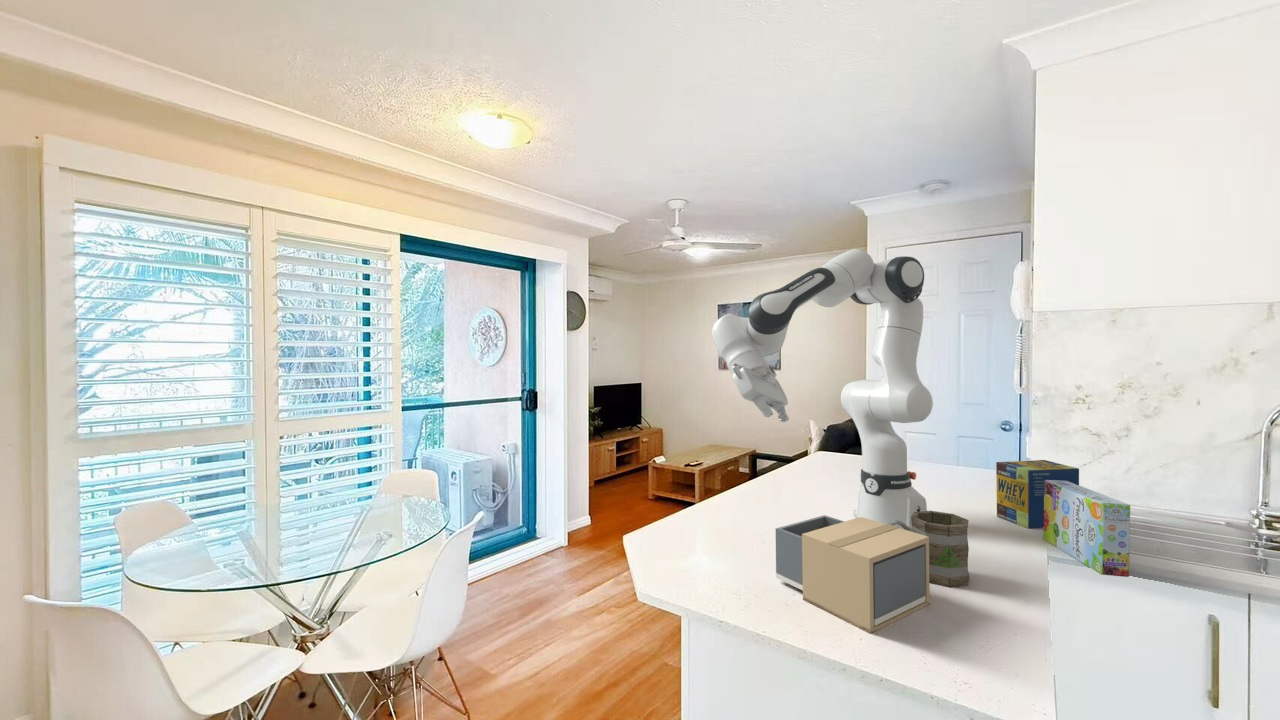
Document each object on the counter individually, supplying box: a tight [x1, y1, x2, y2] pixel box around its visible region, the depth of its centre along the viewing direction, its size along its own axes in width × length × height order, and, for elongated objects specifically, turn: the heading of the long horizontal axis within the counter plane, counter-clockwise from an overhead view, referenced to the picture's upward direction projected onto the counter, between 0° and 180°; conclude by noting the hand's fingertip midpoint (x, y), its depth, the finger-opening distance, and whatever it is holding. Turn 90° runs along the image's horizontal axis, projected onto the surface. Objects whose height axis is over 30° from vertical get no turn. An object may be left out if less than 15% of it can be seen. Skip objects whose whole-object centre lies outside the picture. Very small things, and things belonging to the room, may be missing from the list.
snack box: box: [1043, 480, 1131, 578], centre depth 114 cm, size 21×6×15 cm, turn 168°
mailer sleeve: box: [802, 517, 931, 634], centre depth 95 cm, size 18×14×13 cm
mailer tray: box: [775, 514, 925, 625], centre depth 98 cm, size 15×22×10 cm
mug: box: [888, 510, 970, 589], centre depth 106 cm, size 16×11×12 cm
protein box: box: [995, 459, 1080, 529], centre depth 138 cm, size 10×15×16 cm
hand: (777, 418), depth 117 cm, fingers open, 8 cm apart
